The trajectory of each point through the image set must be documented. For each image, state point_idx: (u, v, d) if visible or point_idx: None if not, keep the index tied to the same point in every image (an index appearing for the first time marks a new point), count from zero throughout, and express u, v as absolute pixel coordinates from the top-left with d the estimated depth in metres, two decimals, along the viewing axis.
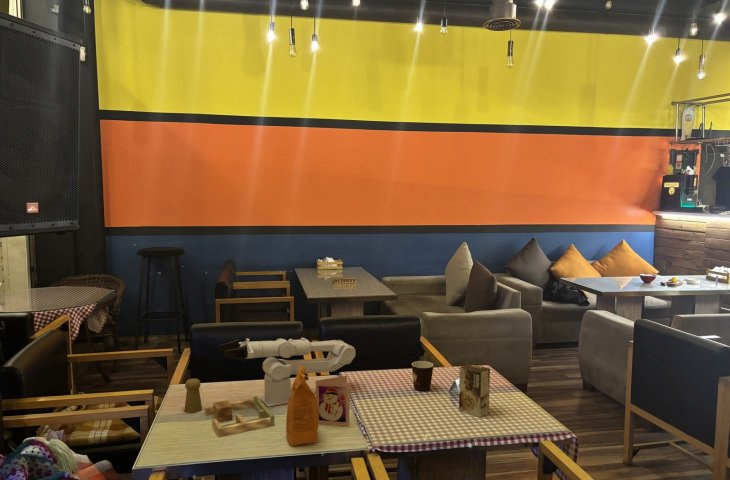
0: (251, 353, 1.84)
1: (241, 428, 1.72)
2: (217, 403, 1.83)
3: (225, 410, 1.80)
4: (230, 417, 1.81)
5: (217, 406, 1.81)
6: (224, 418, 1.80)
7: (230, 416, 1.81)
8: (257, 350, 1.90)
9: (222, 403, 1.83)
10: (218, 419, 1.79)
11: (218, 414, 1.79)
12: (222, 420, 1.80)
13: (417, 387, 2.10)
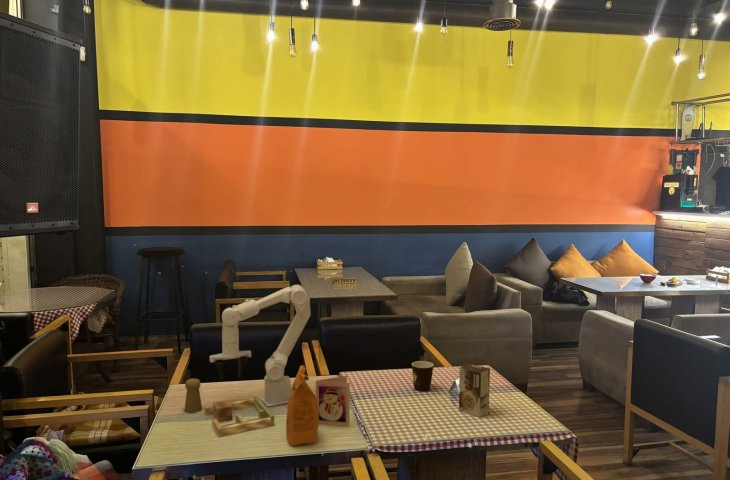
0: None
1: (241, 428, 1.72)
2: (217, 403, 1.83)
3: (225, 410, 1.80)
4: (230, 417, 1.81)
5: (217, 406, 1.81)
6: (224, 418, 1.80)
7: (230, 416, 1.81)
8: (222, 347, 1.91)
9: (222, 403, 1.83)
10: (218, 419, 1.79)
11: (218, 414, 1.79)
12: (222, 420, 1.80)
13: (417, 387, 2.10)
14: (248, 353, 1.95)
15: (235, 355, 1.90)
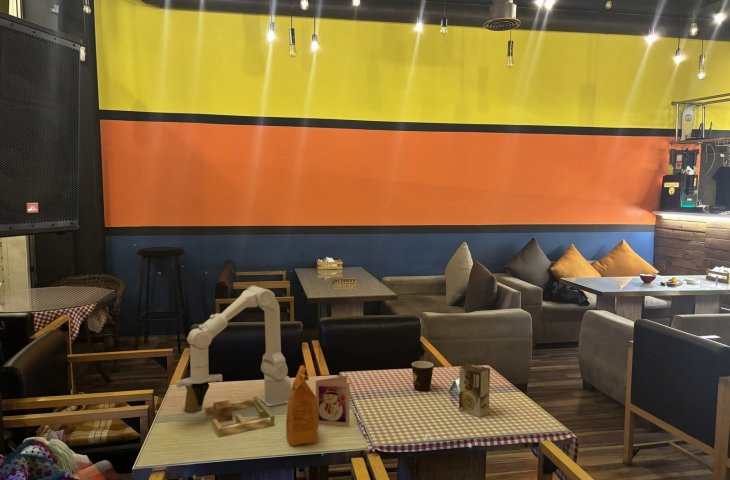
0: (176, 383, 1.75)
1: (241, 428, 1.72)
2: (217, 403, 1.83)
3: (225, 410, 1.80)
4: (230, 417, 1.81)
5: (217, 406, 1.81)
6: (224, 418, 1.80)
7: (230, 416, 1.81)
8: None
9: (222, 403, 1.83)
10: (218, 419, 1.79)
11: (218, 414, 1.79)
12: (222, 420, 1.80)
13: (417, 387, 2.10)
14: (219, 377, 1.80)
15: (204, 380, 1.76)
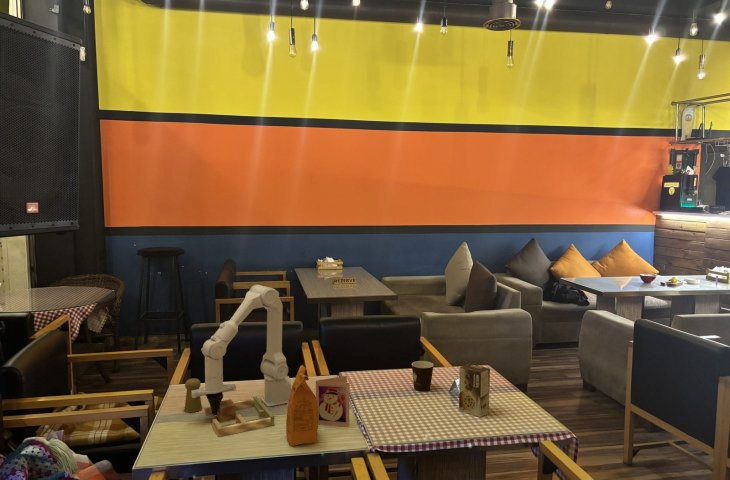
0: (191, 393, 1.78)
1: (241, 428, 1.72)
2: (221, 402, 1.84)
3: (228, 408, 1.80)
4: (233, 416, 1.81)
5: (220, 405, 1.81)
6: (227, 416, 1.80)
7: (233, 415, 1.81)
8: (205, 381, 1.79)
9: (225, 402, 1.83)
10: (221, 418, 1.79)
11: (221, 413, 1.79)
12: (225, 419, 1.80)
13: (417, 387, 2.10)
14: (233, 387, 1.82)
15: (219, 390, 1.78)
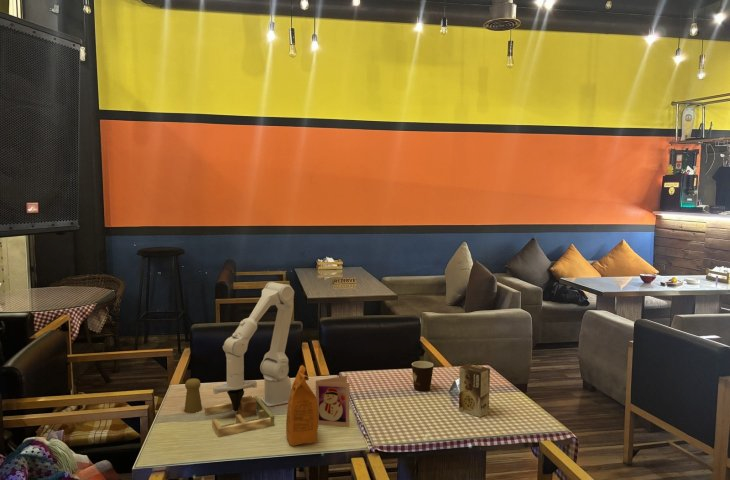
0: (213, 389, 1.81)
1: (241, 428, 1.72)
2: None
3: (249, 405, 1.84)
4: (254, 412, 1.85)
5: (241, 401, 1.85)
6: (248, 412, 1.84)
7: (254, 411, 1.85)
8: None
9: (246, 399, 1.87)
10: (243, 414, 1.83)
11: (243, 409, 1.83)
12: (246, 415, 1.84)
13: (417, 387, 2.10)
14: (253, 384, 1.86)
15: (240, 386, 1.82)
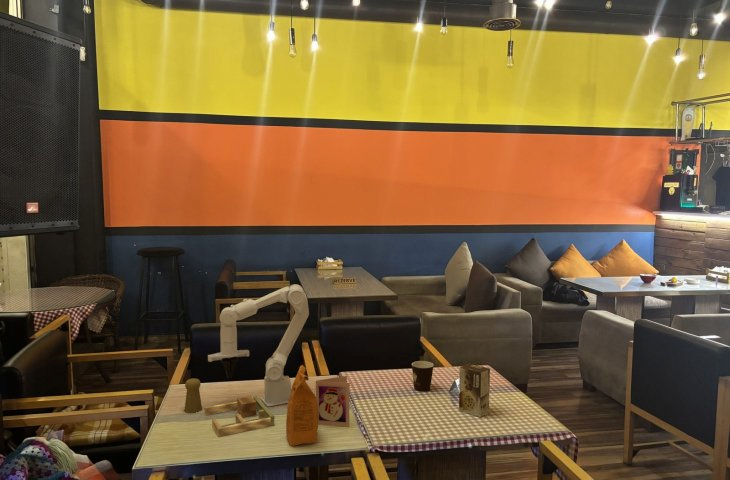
0: (208, 357, 1.90)
1: (241, 428, 1.72)
2: (241, 399, 1.87)
3: (249, 405, 1.84)
4: (254, 412, 1.85)
5: (241, 402, 1.85)
6: (248, 413, 1.84)
7: (254, 411, 1.85)
8: None
9: (246, 399, 1.87)
10: (243, 414, 1.83)
11: (243, 409, 1.83)
12: (246, 415, 1.84)
13: (417, 387, 2.10)
14: (246, 352, 1.95)
15: (233, 354, 1.91)
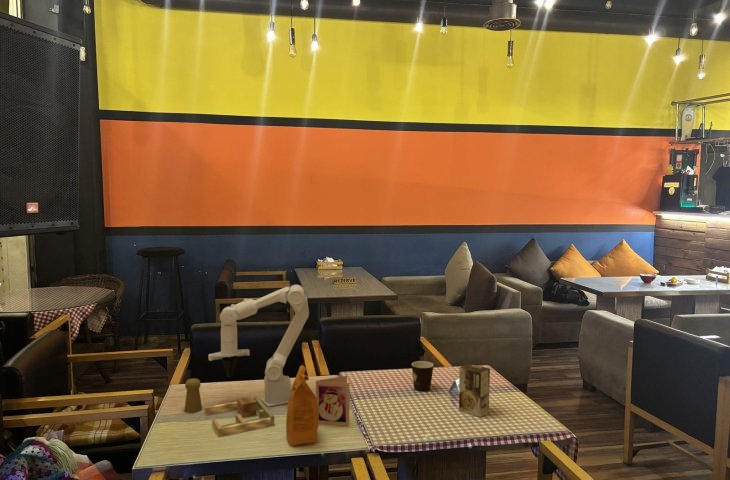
0: (208, 356, 1.91)
1: (241, 428, 1.72)
2: (241, 399, 1.87)
3: (249, 405, 1.84)
4: (254, 412, 1.85)
5: (241, 402, 1.85)
6: (248, 413, 1.84)
7: (254, 411, 1.85)
8: (221, 345, 1.93)
9: (246, 399, 1.87)
10: (243, 414, 1.83)
11: (243, 409, 1.83)
12: (246, 415, 1.84)
13: (417, 387, 2.10)
14: (246, 352, 1.96)
15: (233, 354, 1.92)
